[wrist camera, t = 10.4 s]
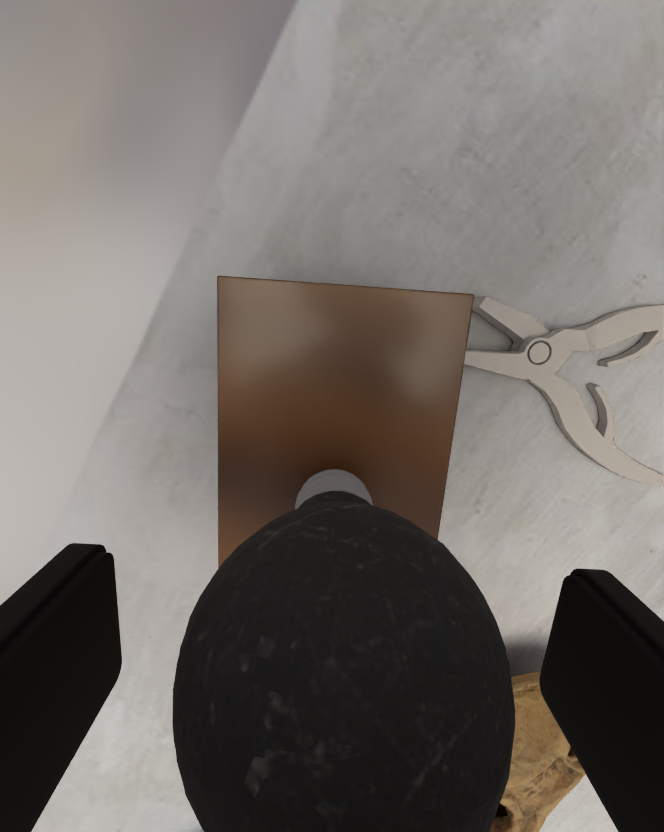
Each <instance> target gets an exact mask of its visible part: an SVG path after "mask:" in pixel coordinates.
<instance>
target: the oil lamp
mask: <svg viewBox="0 0 664 832" xmlns="http://www.w3.org/2000/svg"><path fill="white" fill-rule="evenodd" d="M540 673H541V672H532V673H526V674H521V675H518V676H514V677H511V680H512V687H513V696H514V704H515V722H516V724H515V732H514V740H513V749H512V757H511V765H510V774H509V779H508V782H507V785H506V788H505V791H504V794H503V796H502V799H501V801H500V804H499V807H498V809H497V812H496V815H495V818H494V820H493V823H492V826H491V829H490V831H489V832H539V830H540V829H541V827H542V825H543V823H544V821H545V819H546V817H547V816H548V815H549V814H550V813H551V811H552V810H553V809H554V808H555V807H556V806H557V805H558V803H559V802H560V801H561V800H562V799H563V798H564V797H565V796H566V795H567V794H568V793H569V792H570V791H571V790H572V789H573V788H574V787H575V786H576V785H577V784H578V783H579V782H580V780H581V779H582V777H583V776H584V775H585V774H586V773H585V771H584V770H583V768H582V766H581V764H580V763H579V761H578V759H577V757H576V755H575V754H574V752H573V750H572V748H571V747H570V745H569V743H568V741H567V740H566V738H565V736H564V734H563V732H562V731H561V729H560V727H559V725H558V724H557V722H556V720H555V718H554V717H553V715H552V713H551V711H550V709H549V708H548V706H547V704H546V702H545V701H544V698H543V696H542V694H541V690H540V685H539V678H540Z"/></svg>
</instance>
